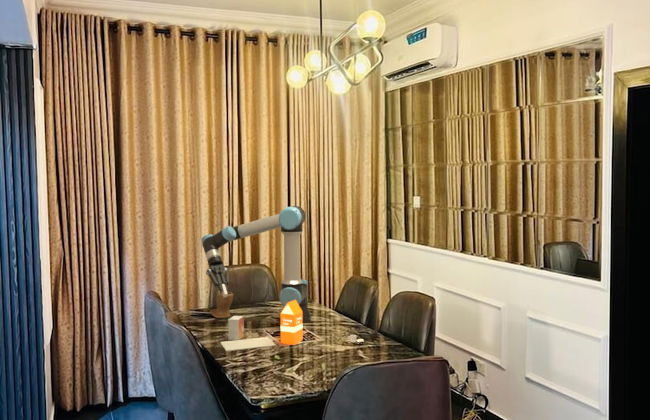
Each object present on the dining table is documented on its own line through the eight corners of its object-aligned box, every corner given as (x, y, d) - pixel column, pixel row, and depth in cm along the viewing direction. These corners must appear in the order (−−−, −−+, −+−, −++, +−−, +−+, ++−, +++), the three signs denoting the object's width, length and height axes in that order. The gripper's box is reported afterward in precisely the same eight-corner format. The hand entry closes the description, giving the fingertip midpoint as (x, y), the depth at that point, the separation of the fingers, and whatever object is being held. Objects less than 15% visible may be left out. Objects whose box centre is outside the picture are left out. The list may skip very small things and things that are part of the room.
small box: (238, 340, 283) (238, 319, 282) (228, 340, 284) (227, 319, 283) (244, 336, 291) (244, 315, 290) (233, 335, 292) (233, 315, 291)
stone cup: (235, 318, 328) (235, 292, 328) (215, 320, 324) (214, 294, 323) (229, 312, 342) (228, 287, 341) (209, 314, 337) (208, 289, 337)
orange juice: (302, 340, 283) (302, 300, 282) (294, 344, 275) (294, 303, 274) (288, 338, 287) (288, 298, 286) (280, 343, 279) (279, 302, 278)
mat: (268, 337, 288) (268, 336, 288) (276, 345, 274) (276, 344, 274) (220, 342, 280) (220, 341, 280) (226, 351, 266) (226, 350, 266)
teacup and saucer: (365, 342, 280) (365, 334, 280) (360, 346, 273) (360, 338, 273) (347, 340, 283) (347, 332, 283) (343, 345, 276) (343, 336, 276)
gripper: (224, 263, 316) (235, 298, 303) (201, 264, 309) (211, 301, 296) (227, 254, 311) (239, 290, 298) (204, 256, 304) (215, 292, 291)
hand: (225, 295), depth 297 cm, fingers closed
